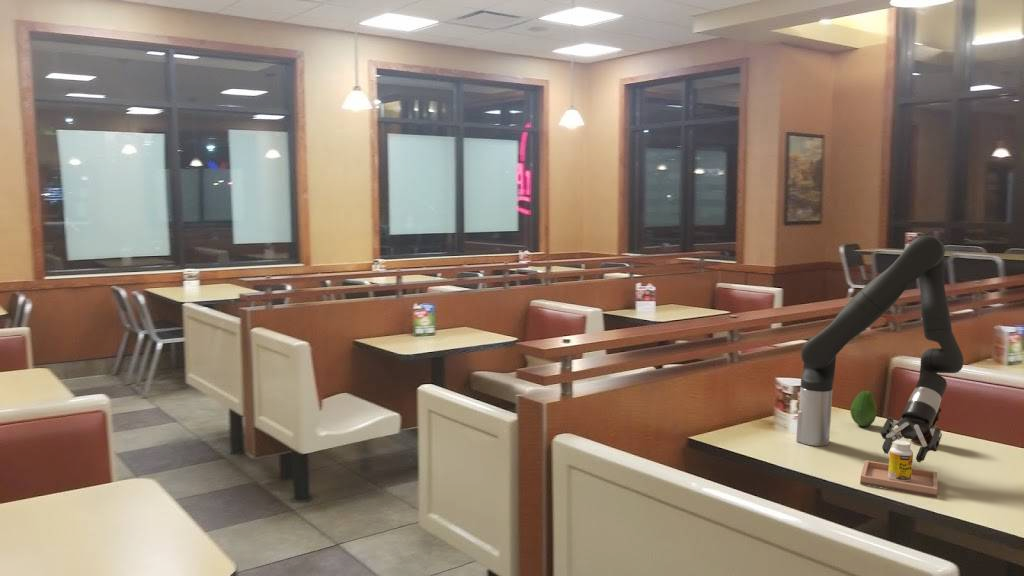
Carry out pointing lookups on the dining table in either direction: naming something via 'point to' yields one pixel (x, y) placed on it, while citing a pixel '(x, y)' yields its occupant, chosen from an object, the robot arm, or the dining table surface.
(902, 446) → the supplement bottle
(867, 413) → the avocado
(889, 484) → the tray
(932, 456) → the dining table surface
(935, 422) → the coffee cup
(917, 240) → the robot arm
